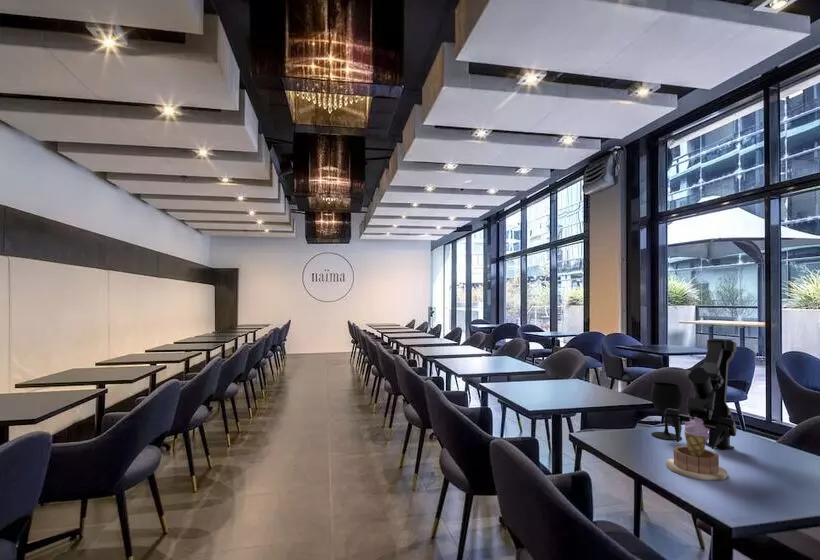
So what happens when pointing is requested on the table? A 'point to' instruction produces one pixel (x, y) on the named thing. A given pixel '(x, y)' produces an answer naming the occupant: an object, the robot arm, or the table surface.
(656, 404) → the wine glass
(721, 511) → the table surface
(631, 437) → the table surface
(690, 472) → the cone stand
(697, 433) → the ice cream cone
